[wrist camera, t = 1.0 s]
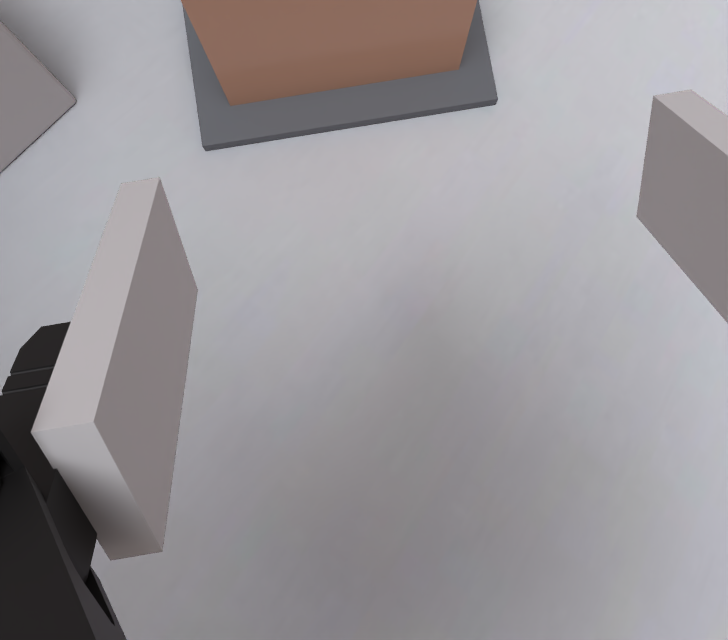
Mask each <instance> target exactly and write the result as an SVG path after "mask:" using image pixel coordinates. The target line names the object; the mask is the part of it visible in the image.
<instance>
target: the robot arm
mask: <svg viewBox="0 0 728 640" xmlns="http://www.w3.org/2000/svg"><path fill="white" fill-rule="evenodd" d="M637 218H638V219H639V220H640V221H641V222H642V224H643V225H644V226H645V227H646V228H647V229H648V231H649V232H650V233H651V234H652V235H653V237H654V238H655V239H656V240H657V241H658V242H659V244H660V245H661V246H662V247H663V248H664V249H665V251H666V252H667V253H668V254H669V255H670V256H671V258H672V259H673V260H674V261H675V262H676V263H677V265H678V266H679V267H680V268H681V269H682V270H683V272H684V273H685V274H686V275H687V276H688V277H689V279H690V280H691V281H692V282H693V283H694V284H695V286H696V287H697V288H698V289H699V290H700V291H701V293H702V294H703V295H704V296H705V297H706V298H707V300H708V301H709V302H710V303H711V304H712V305H713V307H714V308H715V309H716V310H717V311H718V312H719V314H720V315H721V316H722V317H723V318H724V319H725V321H726V322H727V323H728V116H727V115H726V114H725V113H723V112H722V111H720V110H719V109H718V108H716V107H715V106H713V105H712V104H711V103H709V102H708V101H706V100H705V99H704V98H702V97H701V96H700V95H698V94H697V93H695V92H694V91H693V90H686V91H680V92H674V93H667V94H661V95H655V96H653V102H652V109H651V116H650V123H649V131H648V138H647V145H646V152H645V159H644V167H643V174H642V181H641V188H640V195H639V203H638V210H637ZM197 292H198V289H197V286H196V283H195V280H194V277H193V274H192V271H191V268H190V265H189V263H188V260H187V257H186V254H185V251H184V248H183V245H182V242H181V239H180V236H179V233H178V230H177V227H176V224H175V221H174V218H173V215H172V212H171V209H170V206H169V203H168V200H167V197H166V195H165V192H164V189H163V186H162V183H161V180H160V177H158V178H151V179H145V180H139V181H133V182H127V183H121V185H120V188H119V190H118V193H117V196H116V199H115V202H114V204H113V207H112V210H111V213H110V215H109V218H108V221H107V224H106V226H105V229H104V232H103V235H102V237H101V240H100V243H99V246H98V248H97V251H96V254H95V257H94V259H93V262H92V265H91V268H90V270H89V273H88V276H87V279H86V281H85V284H84V287H83V290H82V292H81V295H80V298H79V301H78V304H77V306H76V309H75V312H74V315H73V317H72V320H71V322H67V323H61V324H55V325H49V326H43V327H41V328H40V329H39V330H38V331H37V332H36V333H35V334H34V335H33V336H32V337H31V338H30V339H29V340H28V341H27V342H26V343H25V344H24V345H23V346H22V347H21V348H20V350H19V353H18V355H17V357H16V359H15V362H14V364H13V366H12V369H11V371H10V373H11V376H8V378H7V380H6V382H5V385H4V387H3V389H2V393H3V395H1V396H0V640H126V637H125V635H124V633H123V631H122V629H121V626H120V624H119V622H118V620H117V617H116V615H115V613H114V611H113V609H112V606H111V604H110V602H109V600H108V597H107V595H106V593H105V591H104V589H103V586H102V584H101V582H100V580H99V578H98V577H97V575H96V574H95V572H94V571H93V569H92V568H91V566H90V565H91V561H92V556H93V552H94V547H95V543H96V538H97V540H98V541H99V543H100V545H101V546H102V548H103V549H104V551H105V553H106V554H107V556H108V557H109V559H110V560H116V559H122V558H127V557H133V556H139V555H145V554H151V553H157V552H162V551H163V544H164V536H165V529H166V522H167V514H168V507H169V499H170V492H171V484H172V477H173V470H174V462H175V455H176V447H177V440H178V433H179V425H180V418H181V410H182V403H183V395H184V388H185V381H186V373H187V366H188V358H189V351H190V344H191V336H192V329H193V321H194V314H195V307H196V299H197Z"/></svg>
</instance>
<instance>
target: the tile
mask: <svg viewBox="0 0 728 640" xmlns="http://www.w3.org/2000/svg"><path fill="white" fill-rule="evenodd" d="M181 2H182V4H183V6H184V8H185V10H186V12H187V14H188V17H189V19H190V21H191V23H192V25H193V27H194V29H195V31H196V34H197V36H198V38H199V40H200V42H201V44H202V46H203V48H204V51H205V53H206V55H207V57H208V59H209V61H210V63H211V65H212V68H213V70H214V72H215V74H216V76H217V78H218V80H219V82H220V85H221V87H222V89H223V91H224V93H225V95H226V97H227V100H228V102H229V104H230V106H233V105H240V104H246V103H252V102H259V101H265V100H271V99H277V98H284V97H290V96H296V95H302V94H309V93H315V92H321V91H327V90H334V89H340V88H346V87H352V86H359V85H365V84H371V83H378V82H384V81H390V80H396V79H403V78H409V77H415V76H421V75H428V74H434V73H440V72H446V71H453V70H459V67H460V63H461V59H462V56H463V52H464V48H465V44H466V41H467V37H468V33H469V29H470V26H471V22H472V18H473V14H474V11H475V7H476V3H477V0H181Z"/></svg>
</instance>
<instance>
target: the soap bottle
mask: <svg viewBox="0 0 728 640" xmlns="http://www.w3.org/2000/svg"><path fill="white" fill-rule="evenodd" d="M75 102H76V100H75V97H74V96H73V95H72V94H71V93H70V92H69V91H68V90H67V89H66V88H65V87H64V86H63V85H62V84H61V83H60V82H59V81H58V80H57V79H56V78H55V77H54V75H53V74H52V73H51V72H50V71H49V70H48V69H47V68H46V67H45V66H44V65H43V64H42V63H41V62H40V61H39V60H38V59H37V58H36V57H35V56H34V55H33V54H32V53H31V52H30V51H29V50H28V49H27V48H26V47H25V46H24V44H23V43H22V42H21V41H20V40H19V39H18V38H17V37H16V36H15V35H14V34H13V33H12V32H11V31H10V30H9V29H8V28H7V27H6V26H5V25H4V24H3V23H2V22H1V21H0V172H1V171H2V170H3V169H4V168H6V167H7V166H8V165H9V164H10V163H11V162H12V161H13V160H14V159H15V158H16V157H17V156H19V155H20V154H21V153H22V152H23V151H24V150H25V149H26V148H27V147H28V146H29V145H30V144H31V143H33V142H34V141H35V140H36V139H37V138H38V137H39V136H40V135H41V134H42V133H43V132H44V131H46V130H47V129H48V128H49V127H50V126H51V125H52V124H53V123H54V122H55V121H56V120H57V119H59V118H60V117H61V116H62V115H63V114H64V113H65V112H66V111H67V110H68V109H69V108H70V107H71V106H73V105H74V104H75Z"/></svg>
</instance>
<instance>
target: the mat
mask: <svg viewBox="0 0 728 640" xmlns="http://www.w3.org/2000/svg"><path fill="white" fill-rule="evenodd" d="M183 11H184V18H185V25H186V32H187V40H188V47H189V54H190V61H191V68H192V75H193V82H194V89H195V96H196V103H197V111H198V118H199V125H200V132H201V139H202V146H203V148H204V149H205V151H209V150H215V149H221V148H228V147H234V146H240V145H246V144H253V143H259V142H265V141H271V140H278V139H284V138H290V137H296V136H303V135H309V134H315V133H321V132H327V131H334V130H340V129H346V128H352V127H359V126H365V125H371V124H377V123H384V122H390V121H396V120H402V119H409V118H415V117H421V116H427V115H434V114H440V113H446V112H452V111H458V110H465V109H471V108H477V107H483V106H490V105H495V104H496V102H497V100H498V97H497V92H496V87H495V82H494V77H493V72H492V67H491V62H490V56H489V51H488V46H487V41H486V36H485V31H484V26H483V21H482V16H481V10H480V5H479V0H477V3H476V7H475V11H474V14H473V18H472V22H471V26H470V29H469V33H468V37H467V41H466V44H465V48H464V52H463V56H462V59H461V63H460V67H459V70H453V71H446V72H440V73H434V74H428V75H421V76H415V77H409V78H403V79H396V80H390V81H384V82H378V83H371V84H365V85H359V86H352V87H346V88H340V89H334V90H327V91H321V92H315V93H309V94H302V95H296V96H290V97H284V98H277V99H271V100H265V101H259V102H252V103H246V104H240V105H233V106H230V104H229V102H228V100H227V97H226V95H225V93H224V91H223V89H222V87H221V85H220V82H219V80H218V78H217V76H216V74H215V72H214V70H213V68H212V65H211V63H210V61H209V59H208V57H207V55H206V53H205V51H204V48H203V46H202V44H201V42H200V40H199V38H198V36H197V34H196V31H195V29H194V27H193V25H192V23H191V21H190V19H189V17H188V14H187V12H186V10H185V8H184V6H183Z"/></svg>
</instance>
